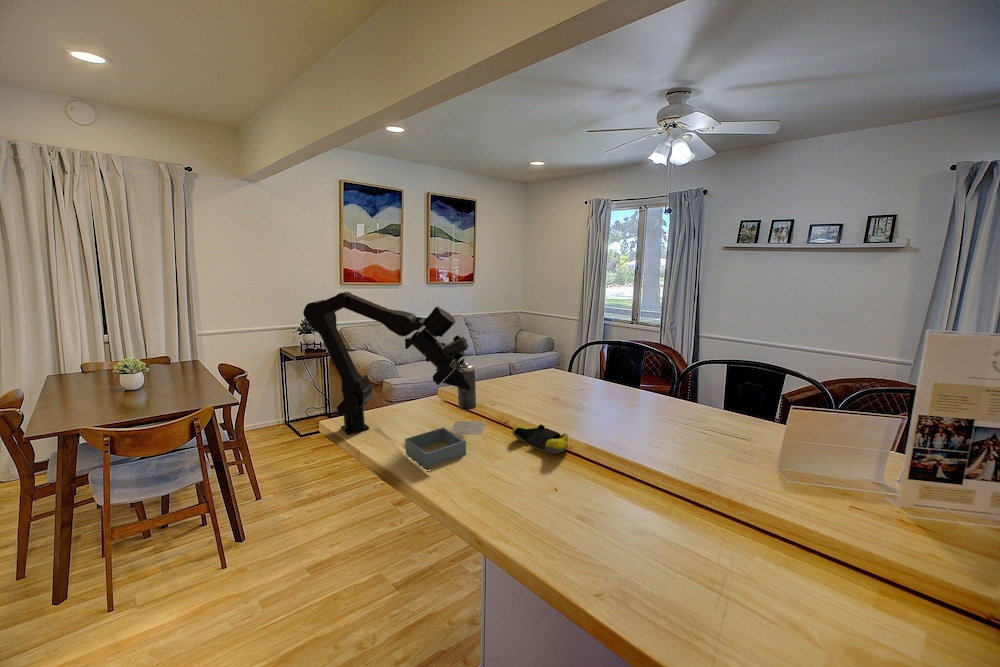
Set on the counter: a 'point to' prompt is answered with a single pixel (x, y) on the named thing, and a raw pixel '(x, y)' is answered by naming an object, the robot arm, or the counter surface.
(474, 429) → the plate
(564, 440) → the black and yellow shoe
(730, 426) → the counter surface
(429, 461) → the bin
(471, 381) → the battery
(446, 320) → the robot arm
